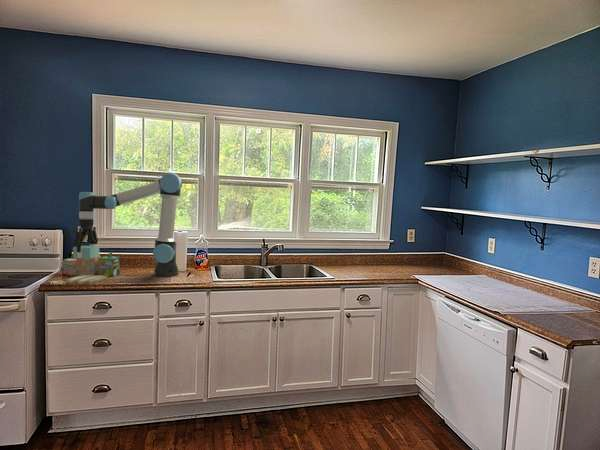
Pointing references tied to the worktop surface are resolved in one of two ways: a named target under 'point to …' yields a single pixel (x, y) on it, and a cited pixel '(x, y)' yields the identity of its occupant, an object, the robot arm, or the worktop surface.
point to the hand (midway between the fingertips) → (86, 256)
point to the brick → (87, 252)
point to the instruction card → (57, 282)
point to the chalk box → (109, 265)
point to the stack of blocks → (81, 266)
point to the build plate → (85, 279)
